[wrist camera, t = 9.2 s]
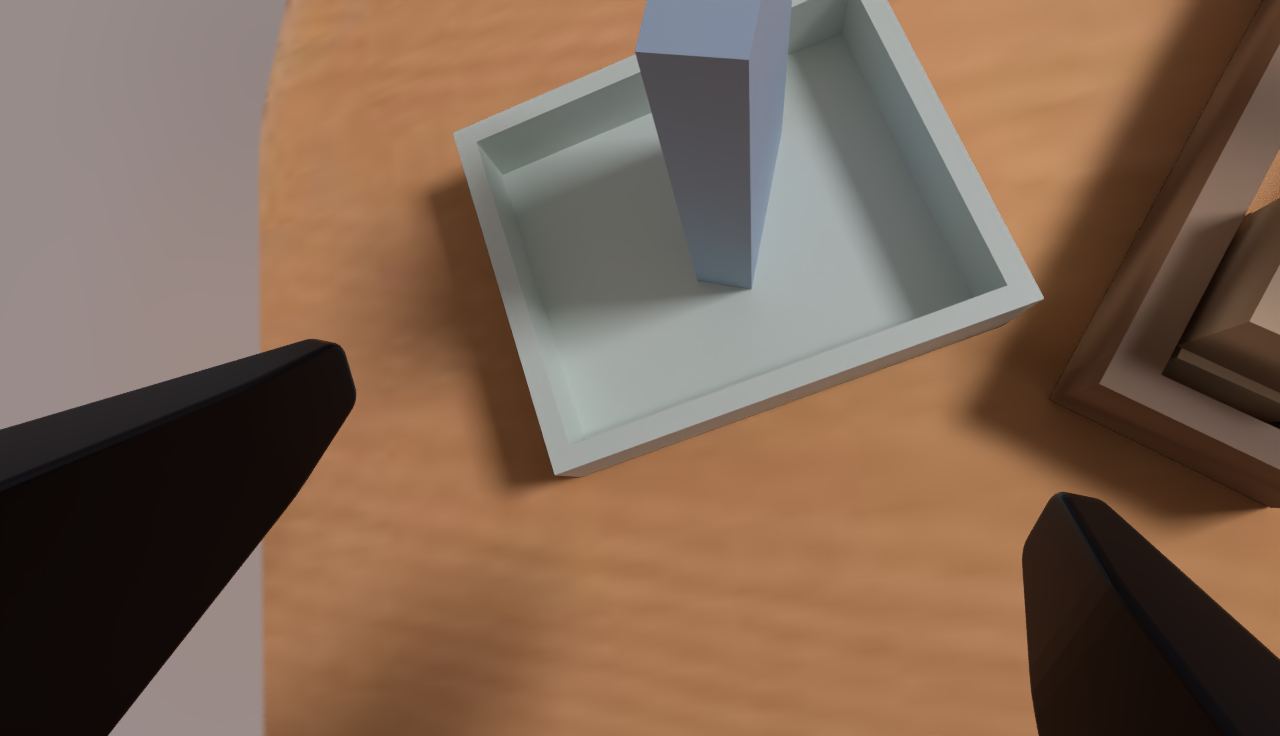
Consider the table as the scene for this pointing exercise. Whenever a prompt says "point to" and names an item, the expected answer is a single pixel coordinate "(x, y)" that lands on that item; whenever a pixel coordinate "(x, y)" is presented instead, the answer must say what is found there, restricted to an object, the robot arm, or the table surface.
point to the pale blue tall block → (718, 120)
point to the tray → (788, 255)
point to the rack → (1188, 286)
